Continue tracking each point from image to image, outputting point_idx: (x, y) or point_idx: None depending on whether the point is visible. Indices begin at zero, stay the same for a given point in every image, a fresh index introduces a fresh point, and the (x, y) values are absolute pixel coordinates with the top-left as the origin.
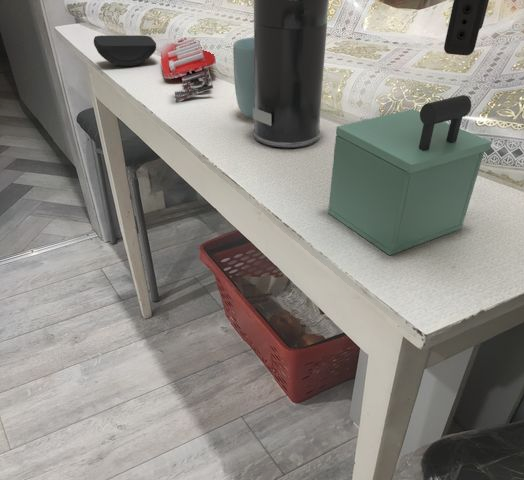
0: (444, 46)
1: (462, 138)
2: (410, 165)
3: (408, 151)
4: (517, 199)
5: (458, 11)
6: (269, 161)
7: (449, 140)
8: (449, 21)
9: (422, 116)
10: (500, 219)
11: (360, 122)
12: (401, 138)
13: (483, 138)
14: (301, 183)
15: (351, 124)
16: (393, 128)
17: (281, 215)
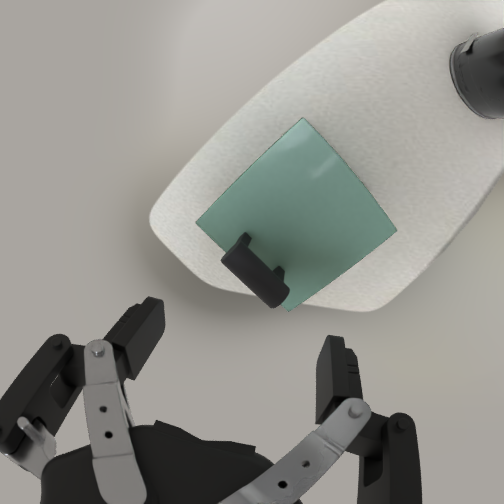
0: (146, 298)
1: (292, 284)
2: (196, 221)
3: (233, 219)
4: (361, 310)
5: (111, 332)
6: (415, 53)
7: (274, 269)
8: (130, 318)
9: (237, 243)
10: (321, 292)
11: (329, 151)
12: (275, 210)
13: (296, 305)
14: (369, 89)
15: (316, 138)
16: (313, 200)
17: (284, 75)
